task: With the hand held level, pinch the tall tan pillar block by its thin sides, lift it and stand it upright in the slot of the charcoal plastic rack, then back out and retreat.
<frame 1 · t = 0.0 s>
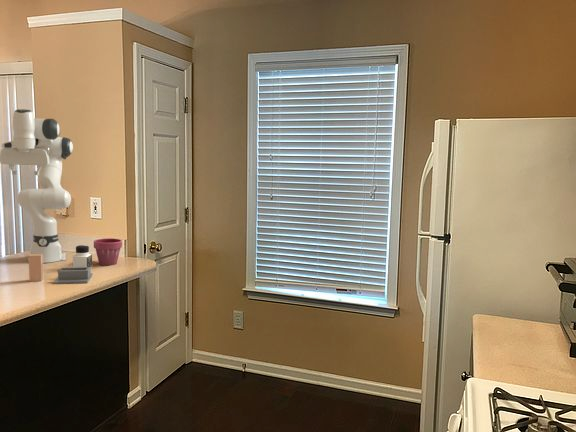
hand: (25, 174, 213), 48 cm above the countertop, tool pointing down, fingers open, 8 cm apart
rack: (73, 279, 215), on the countertop
medicine bottle: (82, 268, 235), on the countertop
plant pot: (108, 263, 247), on the countertop
tall tan pillar block: (36, 280, 211), on the countertop
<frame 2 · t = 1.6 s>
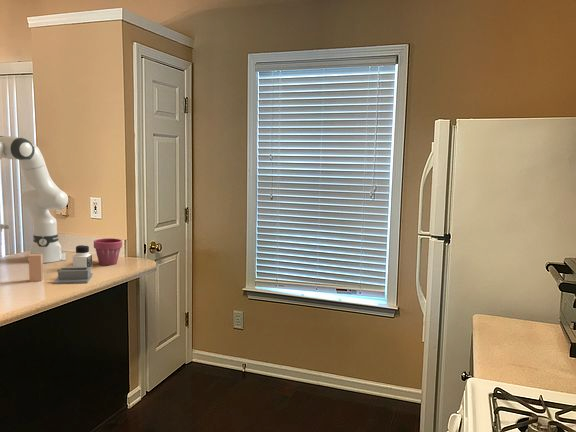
hand: (5, 228, 205), 24 cm above the countertop, tool horizontal, fingers open, 8 cm apart
nothing on the countertop moved.
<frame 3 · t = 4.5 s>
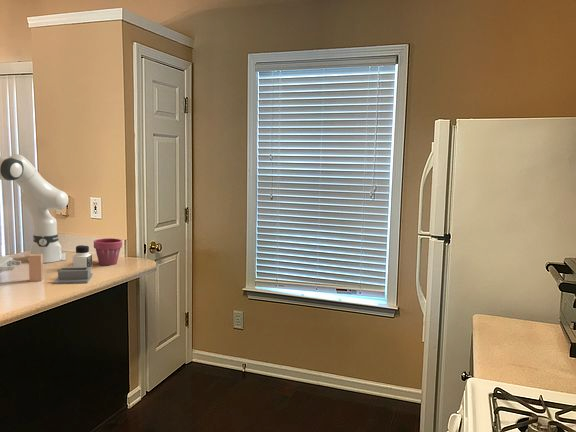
hand: (17, 265, 208), 7 cm above the countertop, tool horizontal, fingers open, 8 cm apart
nothing on the countertop moved.
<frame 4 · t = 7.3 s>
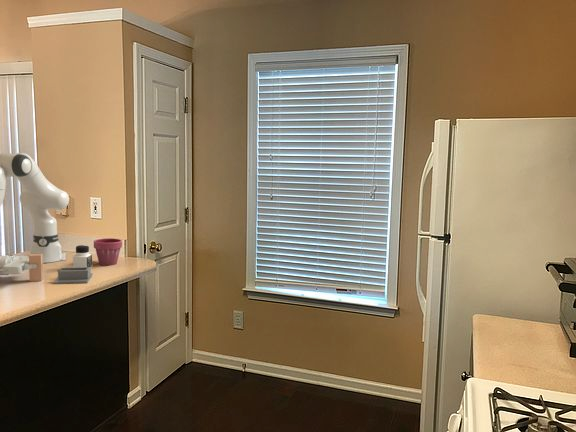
hand: (38, 264, 210), 7 cm above the countertop, tool horizontal, fingers closed on tall tan pillar block, 3 cm apart
tall tan pillar block: (36, 280, 211), on the countertop, touching gripper
everything else where it was.
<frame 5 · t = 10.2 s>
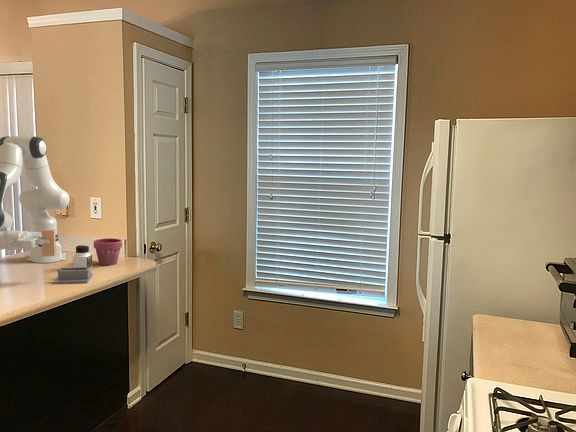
hand: (50, 240, 210), 19 cm above the countertop, tool horizontal, fingers closed on tall tan pillar block, 3 cm apart
tall tan pillar block: (49, 255, 211), point 12 cm above the countertop, touching gripper
everything else where it was.
when the fingers open (9 cm above the countertop, at t = 13.6 s): tall tan pillar block stays where it is, resting on rack.
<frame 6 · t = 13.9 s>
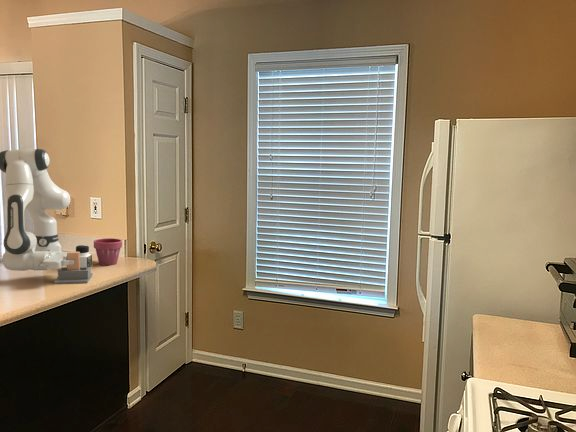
hand: (75, 260, 214), 9 cm above the countertop, tool horizontal, fingers open, 6 cm apart
tall tan pillar block: (73, 277, 215), point 1 cm above the countertop, touching rack
everything else where it was.
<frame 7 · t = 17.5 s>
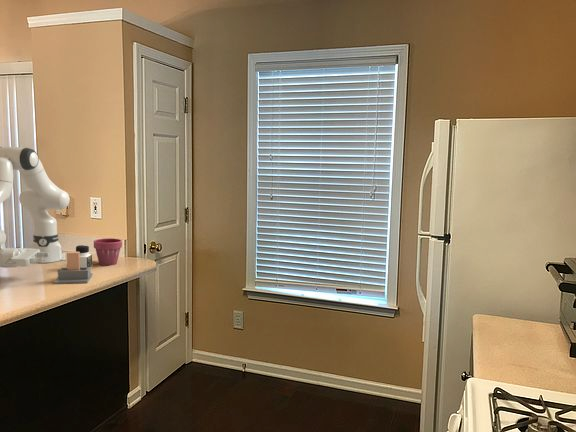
hand: (45, 257, 211), 11 cm above the countertop, tool horizontal, fingers open, 8 cm apart
nothing on the countertop moved.
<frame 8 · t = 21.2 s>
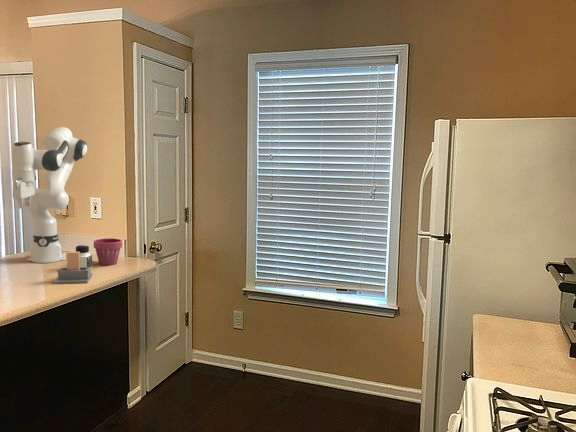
hand: (24, 207, 212), 33 cm above the countertop, tool pointing down, fingers open, 8 cm apart
nothing on the countertop moved.
at the end: tall tan pillar block inside the target area on the rack (0.0 cm from its centre), point 1.0 cm above the rack's base; tall tan pillar block tilted 0°; the gripper is holding nothing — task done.
